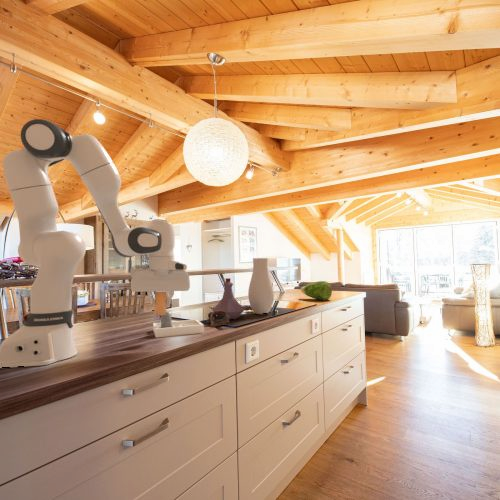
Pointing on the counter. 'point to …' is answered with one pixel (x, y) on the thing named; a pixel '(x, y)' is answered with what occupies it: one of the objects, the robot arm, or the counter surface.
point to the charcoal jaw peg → (166, 320)
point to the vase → (260, 287)
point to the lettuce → (318, 290)
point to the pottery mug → (218, 318)
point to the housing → (178, 328)
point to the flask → (229, 302)
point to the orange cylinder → (160, 303)
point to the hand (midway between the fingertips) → (160, 304)
